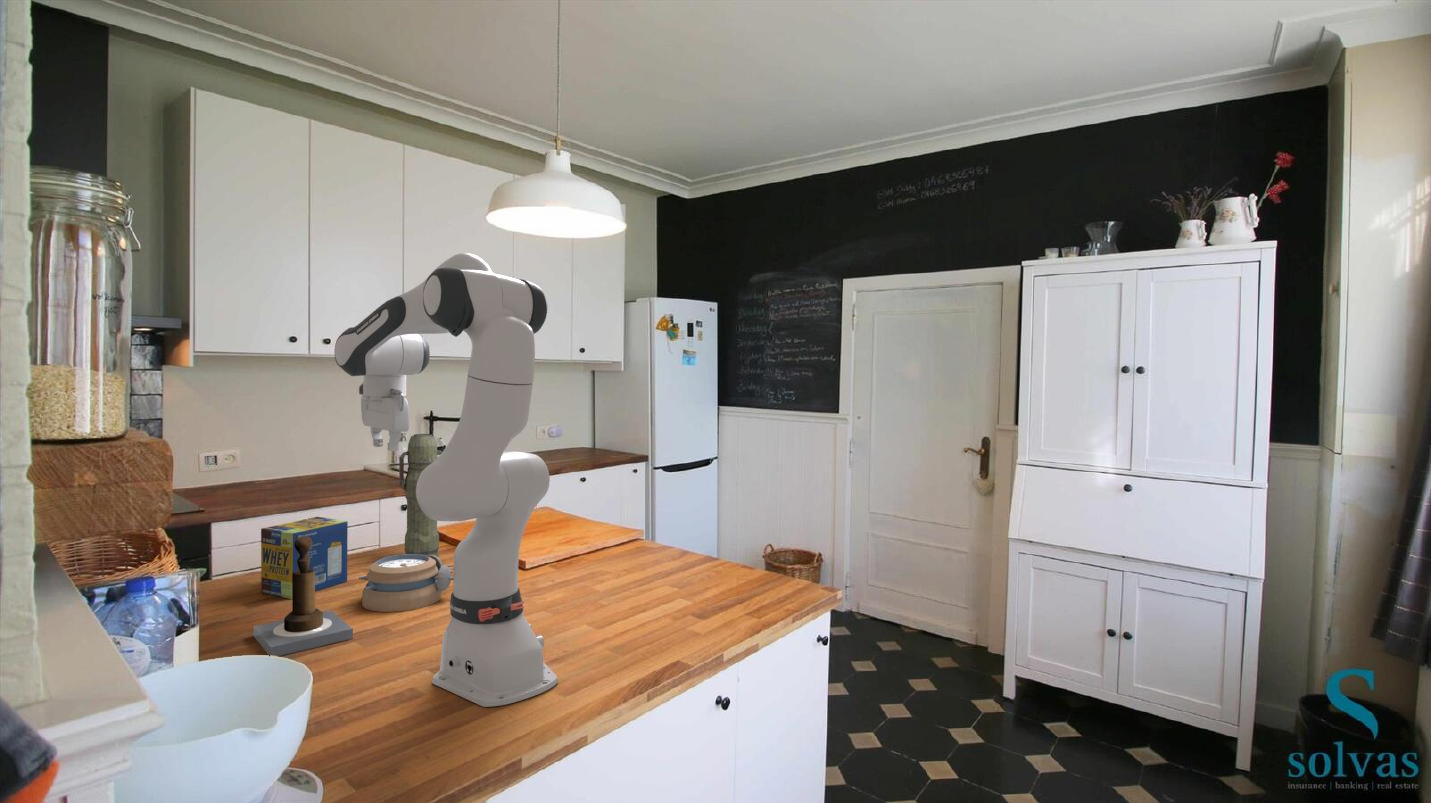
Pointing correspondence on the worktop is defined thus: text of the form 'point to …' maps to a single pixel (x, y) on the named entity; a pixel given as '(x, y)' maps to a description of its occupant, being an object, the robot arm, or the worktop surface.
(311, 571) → the brown tall post-shaped piece
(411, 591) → the alarm clock
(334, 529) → the protein box
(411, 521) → the thermos
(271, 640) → the slate plate
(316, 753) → the worktop surface
